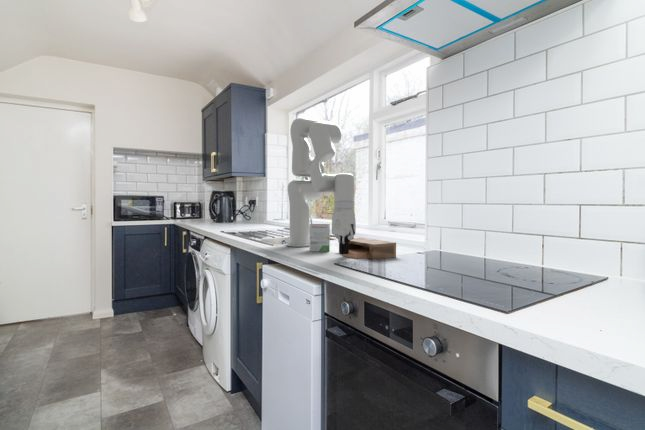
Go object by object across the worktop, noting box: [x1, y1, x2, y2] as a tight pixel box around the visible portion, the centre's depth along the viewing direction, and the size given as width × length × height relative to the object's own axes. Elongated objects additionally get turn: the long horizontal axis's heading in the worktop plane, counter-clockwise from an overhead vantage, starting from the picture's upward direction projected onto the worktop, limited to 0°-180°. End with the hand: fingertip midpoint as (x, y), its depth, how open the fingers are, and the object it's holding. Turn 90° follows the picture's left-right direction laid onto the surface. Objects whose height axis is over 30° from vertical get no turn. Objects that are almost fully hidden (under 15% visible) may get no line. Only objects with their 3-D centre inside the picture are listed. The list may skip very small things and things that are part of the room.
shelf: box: [338, 237, 397, 260], centre depth 139 cm, size 22×11×6 cm, turn 33°
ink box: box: [308, 223, 331, 253], centre depth 150 cm, size 9×5×12 cm, turn 84°
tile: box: [341, 248, 370, 260], centre depth 137 cm, size 9×14×2 cm, turn 123°
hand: (343, 253), depth 133 cm, fingers closed
